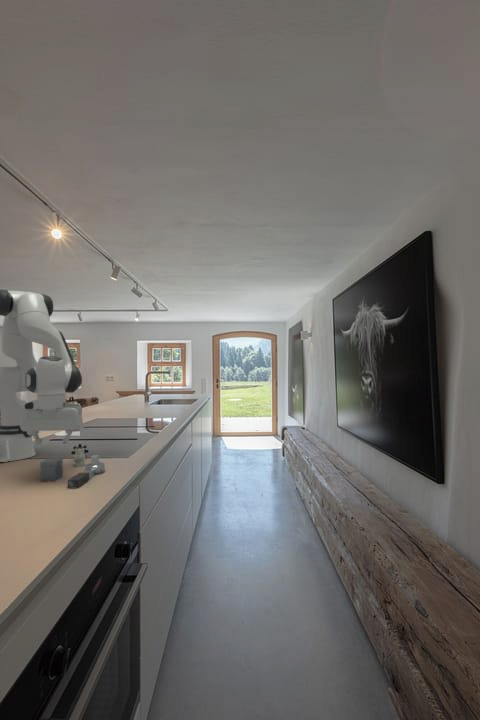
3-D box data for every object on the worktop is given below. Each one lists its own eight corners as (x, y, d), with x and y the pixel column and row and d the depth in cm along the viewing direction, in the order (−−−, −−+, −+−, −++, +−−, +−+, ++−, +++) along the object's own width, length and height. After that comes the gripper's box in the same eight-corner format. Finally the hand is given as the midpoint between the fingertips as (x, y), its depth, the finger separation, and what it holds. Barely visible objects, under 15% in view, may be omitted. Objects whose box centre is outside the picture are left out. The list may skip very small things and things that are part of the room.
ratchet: (62, 488, 111) (62, 469, 111) (90, 469, 131) (90, 453, 131) (82, 488, 111) (82, 469, 111) (107, 469, 131) (107, 453, 131)
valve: (88, 465, 137) (88, 458, 148) (88, 448, 137) (88, 442, 148) (70, 468, 134) (71, 460, 145) (70, 450, 134) (71, 444, 145)
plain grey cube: (40, 481, 118) (40, 462, 118) (48, 476, 123) (48, 458, 123) (55, 481, 118) (55, 462, 118) (62, 476, 123) (62, 458, 123)
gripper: (85, 401, 124) (86, 440, 124) (28, 403, 124) (28, 442, 124) (77, 403, 118) (77, 444, 117) (17, 404, 118) (17, 446, 118)
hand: (52, 443), depth 121 cm, fingers open, 8 cm apart
